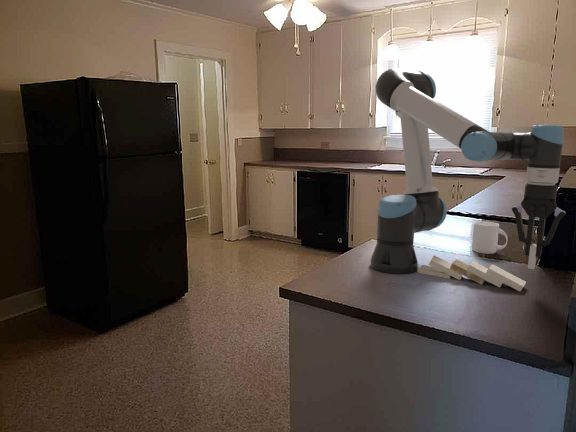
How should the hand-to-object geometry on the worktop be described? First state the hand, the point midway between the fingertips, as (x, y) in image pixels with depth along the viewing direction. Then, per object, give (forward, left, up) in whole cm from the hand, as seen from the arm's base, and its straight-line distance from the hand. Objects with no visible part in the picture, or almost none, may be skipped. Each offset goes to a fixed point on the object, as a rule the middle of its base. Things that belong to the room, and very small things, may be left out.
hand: (531, 267), depth 121 cm
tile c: (-5, +5, -6) cm, 9 cm away
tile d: (-1, +1, -6) cm, 6 cm away
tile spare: (-8, +8, -6) cm, 13 cm away
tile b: (-13, +13, -6) cm, 19 cm away
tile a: (-15, +15, -7) cm, 22 cm away
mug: (+14, +39, -7) cm, 42 cm away
